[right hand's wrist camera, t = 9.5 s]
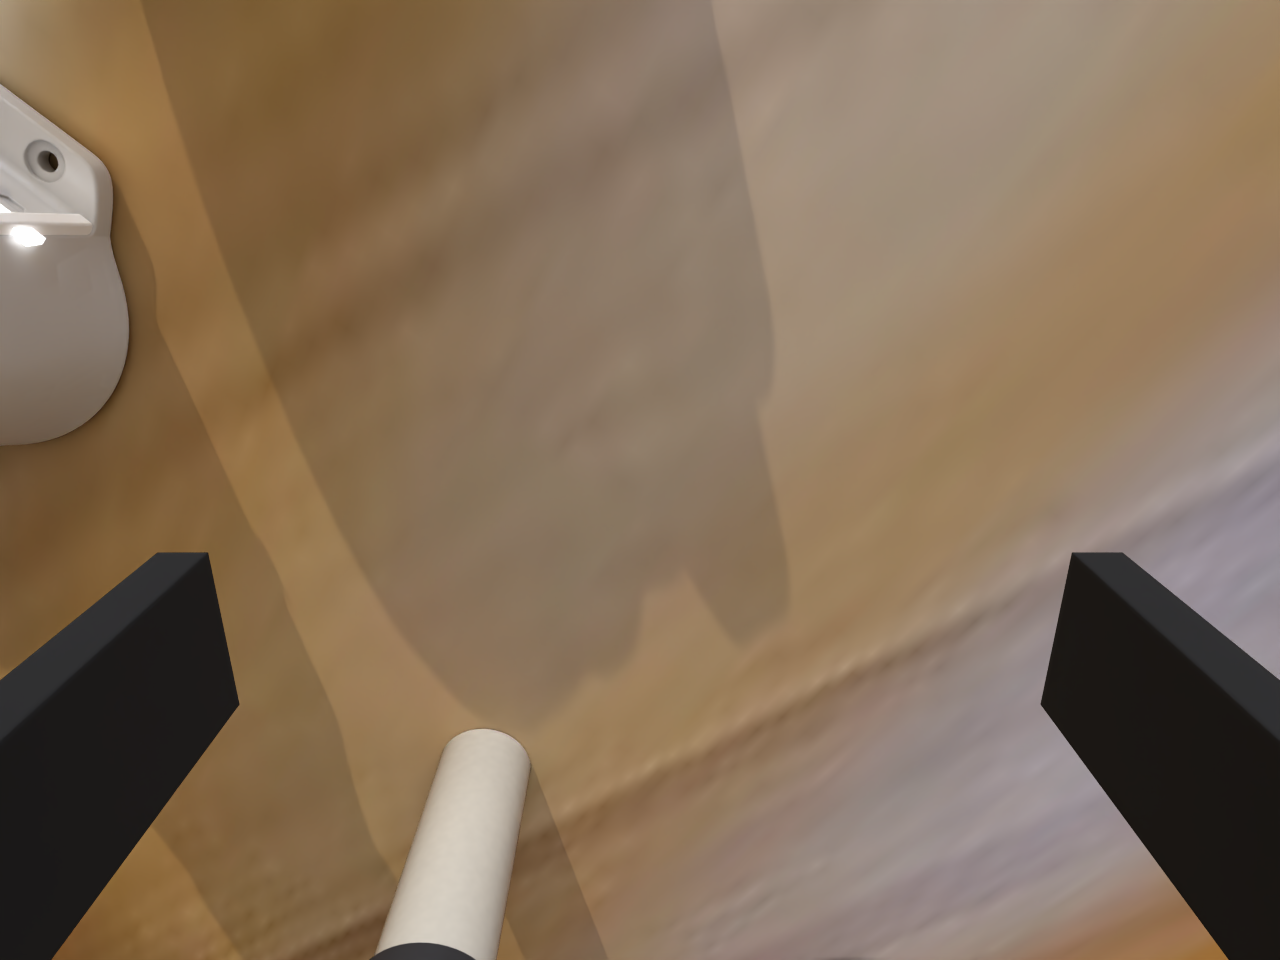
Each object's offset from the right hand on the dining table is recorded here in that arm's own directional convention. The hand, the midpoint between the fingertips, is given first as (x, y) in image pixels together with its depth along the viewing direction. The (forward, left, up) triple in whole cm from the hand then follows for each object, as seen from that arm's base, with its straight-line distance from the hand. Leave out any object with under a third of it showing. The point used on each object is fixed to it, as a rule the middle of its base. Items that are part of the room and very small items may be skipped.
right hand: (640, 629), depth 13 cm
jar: (-26, +9, -28) cm, 39 cm away
